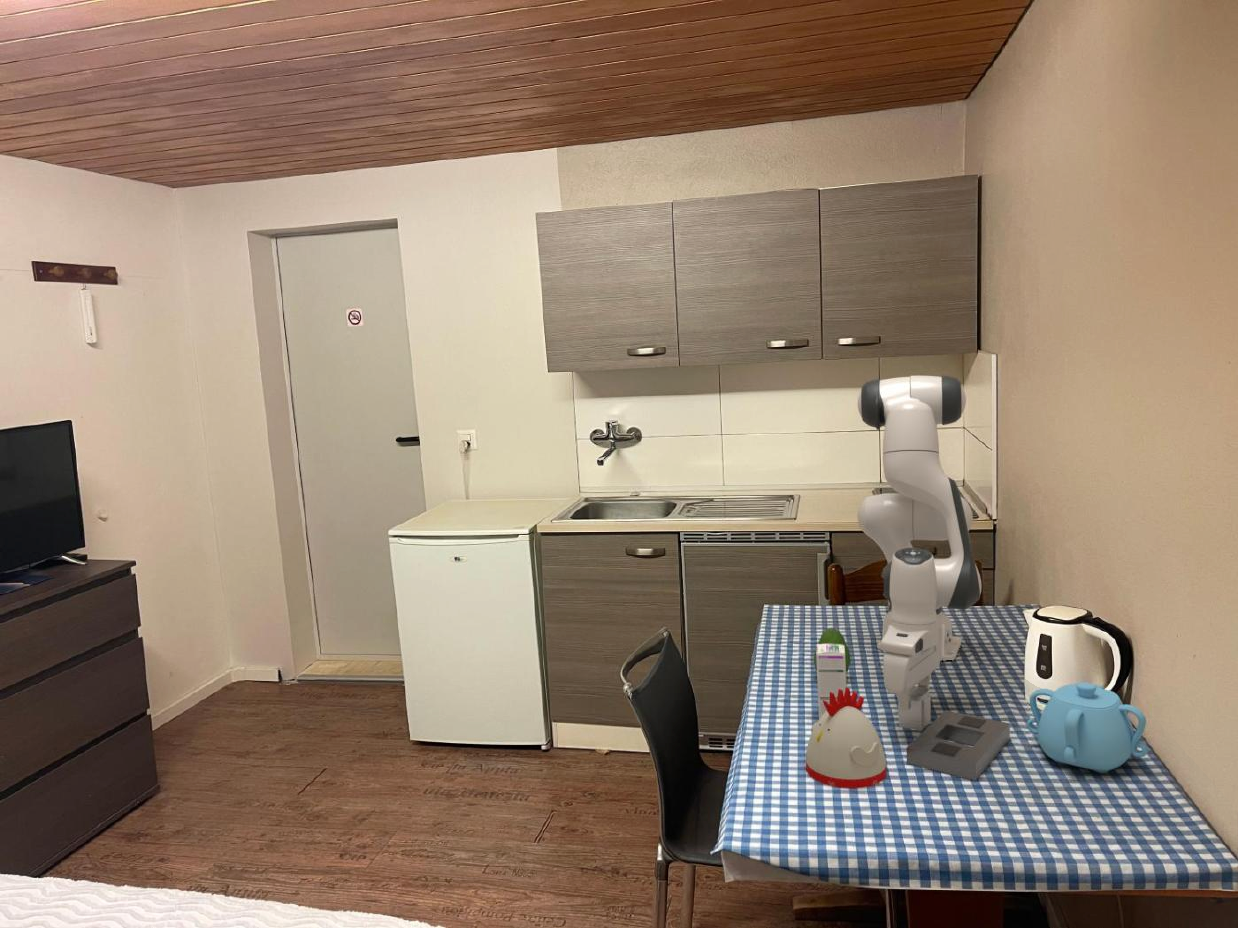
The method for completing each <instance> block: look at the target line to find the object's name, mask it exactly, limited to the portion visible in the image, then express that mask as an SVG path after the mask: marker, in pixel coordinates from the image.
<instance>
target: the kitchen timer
mask: <svg viewBox="0 0 1238 928" xmlns="http://www.w3.org/2000/svg"><path fill="white" fill-rule="evenodd" d="M857 699H858V700H857ZM864 701H865V697H863V696H859V698H858V692H856V691H852V693H851V689H850V688H849V687H848V686H847V687H846V688H845V694H844V695H843V690H841V689H839V690H838V696H837V701H836V698H835V695H834V693H832V692H830V702H829V704H828V703H827V702H826V701H824V700H823V703H824V706H825V708H826V710H827V711H826V712H825V713H824V714H823V715H822V716H821V718H820V719H819V718H818V720H817V721H816V722H815V723H813V724H812V726H811V731H810V733H811V734H810V737H809V740H808V742H807V747H806V750H805V772H806V773H807V775H809V777H810V778H812V779H813V780H815V782H819V783H820V784H824V785H826V786H830V787H834V788H841V789H862V788H868V787H872V786H874V785H877V784H880V783H881V782H882V781H884V780H885V778H886V775H887V759H886V755H885V752H884V749H883V745H882V741H881V739H880V736H879V734H878V732H877V730H876V728H875V726H874V724H873V723H872V722H871V720H870V719H869V718H868V717H867V716H866V714H865V713H864V712H862V710H861V709H862V707H863V704H864Z"/></svg>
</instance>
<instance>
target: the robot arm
mask: <svg viewBox="0 0 1238 928" xmlns="http://www.w3.org/2000/svg"><path fill="white" fill-rule="evenodd" d="M857 398H858V399H857V409H858V413H859V415H860V417H861V420H862V422H863V423H864V424H866V425H867V426H869V427H872V428H876V430H878V431H880V429H881V428H882V427H884V429H883V430H884V432H883V441H882V442H883V443H882V465H883V466H882V467H883V473H884V478H885V481H886V482H887V484H888V485H889V486H890V487H891V489H893V490H894V491H895V493H892V492H891V493H889V492H888V493H879V494H874V495H869V496H866V497H865V498H864V499H863V500H862V502H861V503H860V504H859V507H858V509H857V521H858V525H859V527H860V529H861V531H862V532H863V533H864V534H865V535H866V536H867V537H869V538H870V539H871V540H873V541H874V542H875V543H876V544H877V545H878V546H879V548H880V549H881V551H882V552H883V555H884V557H885V559H886V561H887V564H886V566H885V567H883V569H882V576H883V593H882V596H883V597H884V598H885V599H886V600H887V605H888V612H887V613H886V614H885V615H884V616H883V620H882V623H883V624H882V635H881V637H882V638H881V641H879V642H877V644H876V648H877V649H879V650H880V651H882V652H883V658H882V659H883V668H882V669H883V683H884V687H885V690H886V691H887V692H888V693H891V694H895V695H896V698H897V702H898V701H899V709H900V710H902V711H908V710H909V709H910V708H911V701H910V700H909V697H908V694H909V690H910V689H912V688H913V687H914V686H916V687H921V688H926V689H930V687H929V686H930V683H931V678H932V673H933V672H934V671H936V670H937V668H939V667H940V663H941V662H942V660H943V662H945V661H946V660H952V661H955V660H956V657H957V655H958V653H959V651H960V649H959V648H961V646H962V644H961V642H962V643H963V641H962V638H961V637H958V636H955V635H953V624H952V623H953V622H952V620H951V619H950V618H949V617H948V616H947V615H946V614H945V613H944V612H943V608H947V609H954V610H963V611H965V610H967V609H969V608H971V607H972V606H973V605H974V604H976V603H977V602H978V601H979V600H980V599H981V593H982V579H981V575H980V572H979V569H978V567H977V564H976V561H975V557H974V553H973V548H972V542H971V539H970V537H971V536H970V533H969V531H970V529H971V528H972V524H973V518H974V517H973V511H972V508H971V506H970V504H969V502H968V501H967V500H966V499H965V498H964V497H963V496H961V493H960V490H959V487H958V485H957V483H956V481H955V480H954V479H953V478H950V477H948V476H947V474H946V472H945V471H944V469H943V467H942V465H941V460H940V445H939V444H940V442H939V435H938V434H939V433H938V425H940V424H941V425H942V426H946V425H951V424H954V423H957V421H958V420H960V419H961V418H962V414H963V413H964V410H965V408H966V403H967V398H966V392H965V389H964V387H963V386H962V382H961V381H960V380H959V379H958V377H956V376H955V377H954V376H950V375H941V376H937V375H910V376H900V377H892V378H886V379H880V378H877V379H872V380H868V381H866V382H865V383H864V384H863V385H862V387H861V390H860V392H859V394H858V397H857ZM912 541H942V542H943V541H948V544H949V548H950V552H951V553H950V556H949V557H947V558H934V555H933V554H932V552H930V551H929V550H926V549H923V548H919V547H913V545H912V543H911V542H912ZM960 645H961V646H960ZM958 650H959V651H958ZM957 652H958V653H957ZM954 659H955V660H954ZM946 662H947V661H946Z"/></svg>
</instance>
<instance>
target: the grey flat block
mask: <svg viewBox="0 0 1238 928" xmlns="http://www.w3.org/2000/svg"><path fill="white" fill-rule="evenodd" d="M1010 728H1011V724H1010V722H1004V721H999V720H994V719H989V718H986V717H980V716H975V715H970V714H966V713H960V712H957V711H951V710H947V709H946V710H944V711H943V712H941V714H940V715H939V716H938V717H936V718H935V719H934V720H933V722H931V723H930V724H929V725H928V726H927V727H926V728H925V729H924V730H923V731H921V733H920V734H919V735H918V736H917V737H916V738H915V739H914V740H913V741H911V743H910V744H908V746H907V747H906V764H908V765H911V766H915V765H916V766H915V767H919V768H923V767H924V768H923V769H928V770H931V769H932V770H931V771H935V772H939V773H942V772H945V773H944V774H946V773H948V774H947V775H950V774H952V776H954V775H955V777H959V778H963V779H966V780H970V781H971V780H972V781H974V782H975V781H977V780H978V779H979V777H980V776H981V775H982V774H983V772H984V771H986V769H987V767H988V766H989V765H990V764H991V763H992V762H993V760H994V759H995V758H996V757H997V755H998V754H999V753H1000V752H1001V751H1002V749H1003V748H1004V747H1005V745H1006V744H1007V743H1008V742H1009V740H1010V739H1011V737H1010V736H1011V732H1010V731H1011V729H1010Z"/></svg>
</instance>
